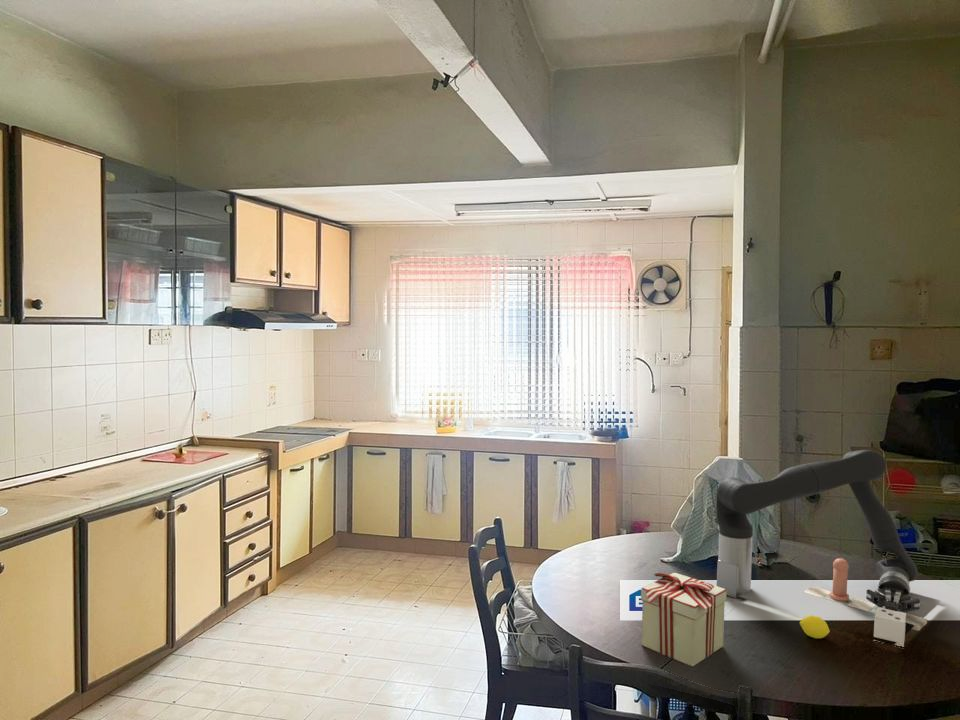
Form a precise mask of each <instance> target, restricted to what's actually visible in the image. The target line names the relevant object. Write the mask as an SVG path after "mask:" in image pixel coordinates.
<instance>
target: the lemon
mask: <svg viewBox="0 0 960 720" xmlns="http://www.w3.org/2000/svg"><path fill="white" fill-rule="evenodd" d="M799 626H800V627H801V629H802V631H803V632H804V633H805V634H806V635H807V636H808V637H811V638H812V639H816V640H817V639H823V638H825V637H826V636H827V635H828V634H829V633H830V632H831V631H830V628H829V626H828V624H827V622H826V621H825V620H824V619H823V618H821V617H820V616H817V615H808V616H805V617H804V618H803V619H802V620H800V621H799Z"/></svg>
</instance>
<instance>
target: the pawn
mask: <svg viewBox="0 0 960 720" xmlns="http://www.w3.org/2000/svg"><path fill="white" fill-rule="evenodd" d="M832 566H833V567H832V568H833V571H832V573H833V574H832V576H833V577H832V590H831V591H830V594H829V595H830V598H831V599H833V600H836V601H840V602H847V601H849V597H850V595H849V594H848V593H847V592H848V576H849V575H848V574H849V572H848V571H849V567H850V565H849V563H848V561H847V560H846V559H844V558H843V557H841V558H835V560H833V562H832Z"/></svg>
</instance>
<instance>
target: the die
mask: <svg viewBox="0 0 960 720" xmlns="http://www.w3.org/2000/svg"><path fill="white" fill-rule="evenodd" d="M876 607H877V606H876ZM898 611H899V610H898ZM898 611H893V610H889V609H884V608H879V607H877V609H876V613H874V622H873V638H877V639H882V640H885V641H890V642H894V644H893V645H897V646H902V647H905V639H906V625H907V623H906V613H907V612H904V613H903V612H902V611H900V612H898ZM872 641H873V642H874V641H878V642H882V643H881V644H883V643H884V642H883V641H879V640H876V639H873V640H872ZM878 642H877V643H878Z"/></svg>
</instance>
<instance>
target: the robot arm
mask: <svg viewBox="0 0 960 720" xmlns="http://www.w3.org/2000/svg"><path fill="white" fill-rule="evenodd" d="M886 470H887V462H886V458H884V456H883V455H882V454H881V453H880V452H878V451H875V450H871V449H861V450H860V449H859V450H854V451H853V450H852V451H849V452H846V453H845V454H844V455H843V456H842V458H841V459H836V460H835V459H834V460H825V461H815V462H808V463H803V464H799V465H795V466H791V467H788V468H786V469H784V470H782V471H781V472H780V473H778V474H777V475H776V476H775V477H773V478H771V479H769V480H765V481H759V482H746V481H745V480H742V479H740V478H737V477H727V478H724V479H723V480H722V481H721V482H720V483H719V485H718V487H717V491H716V499H715V500H716V521H717V525H718V529H719V530H718V556H717V558H718V559H717V565H716V586H718V587H721V588H724V589H726V596H727V595H728V596H727V597H731V598H734V599H737V598H740V596H742V595H744V594H748V593H750V592H751V590H752V589H751V585H752V562H753V561H752V560H753V533H754V532H753V531H754V530H753V529H754V528H753V525H752V523H751V522H750V521H749V519H748V517H747V515H749V514H752V513H756V512H758V511H761V510H764V509H766V508H768V507H771V506H773V505H777V504H781V503H786V502H789V501H793V500H794V501H795V500H799V499H802V498H807V497H810V496H814V495H817V494H818V495H819V494H821V493H824V492H828V491H830V490H834V489H837V488H839V487H842V486H845V485H849V487H850V490H851V491H852V493H853V495H854V497H855V499H856V501H857V504H858V505H859V507H860V509H861V512H862V514H863V516H864V518H865V521H866V523H867V527H868V530H869V533H870V535H871V536H870V537H871V539H872V542H873V544H874V548H875V549H876V551H879V552H884V553H885V552H886V553H892V554H894V555H896V556H897V557H891V558H884V559H883V558H882V559H881V560H879V561H877V562H876V563H875V571H876V574H877V577H878V579H879V581H878V586H877V589H875V591H873V590H872V589H866V592H865V593H866V594H865V595H866V596H865V597H866V598H865V599H866V600H867V601H868V602H869V603H872V604H875V605H876V607H877V606H878V607H885V609H889V610H893V611H900V612H904V613H908V612H912V611H918V610H920V606H921V600H920V599H919V598H912V596H911V586H910V582H913V581H915V580H917V577H918V576H919V575H918V574H919V571H918V568H917V565H916V564H915V562H914V561H913V559H912V558H911V556H910V555H909V554H908V552H907V551H906V549H905V547H904V545H903V544H902V541H901V539H900V536H899V533H898V530H897V527H896V524H895V522H894V520H893V517H892V516H891V514H890V512H889V511H888V510H887V509H886V507H885V506H884V505H883V503H881V501H880V499H879V498H878V496H877V495H876V493H875V491H874V489H873V486H872V484H871V482H872V481H876V480H878V479H880V478H881V477H882V476H883V475H884V474H885V472H886Z"/></svg>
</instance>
